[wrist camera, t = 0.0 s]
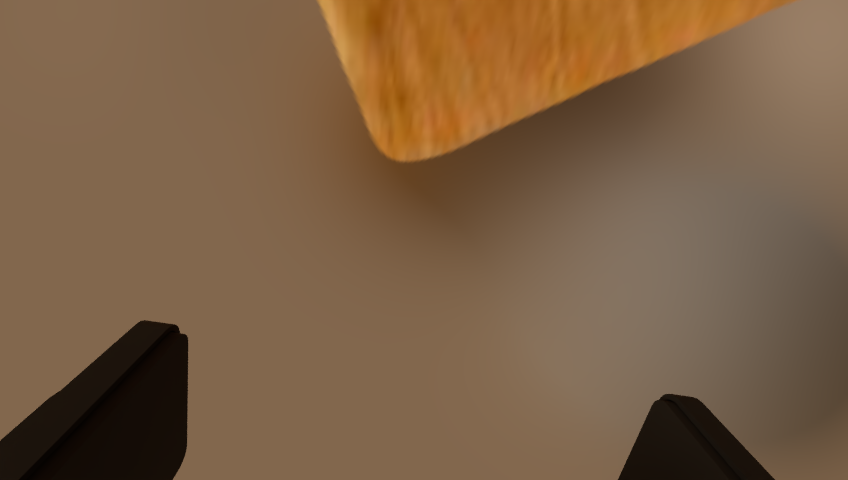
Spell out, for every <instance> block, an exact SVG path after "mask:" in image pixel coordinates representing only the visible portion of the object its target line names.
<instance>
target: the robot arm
mask: <svg viewBox="0 0 848 480" xmlns="http://www.w3.org/2000/svg"><path fill="white" fill-rule="evenodd" d="M187 395H188V337H187V335H185V334H180V331H179V328H178V326H177V325H173V324H166V323H160V322H152V321H145V320H144V321H140V322H139V323H137V324H136V325H135V326H134V327H132V328H131V329H130V330H129V331H128V332H127V333H126V334H125V335H123V336H122V337H121V338H120V339H119V340H118V341H117V342H116V343H114V344H113V345H112V346H111V347H110V348H109V349H107V350H106V351H105V352H104V353H103V354H102V355H101V356H99V357H98V358H97V359H96V360H95V361H94V362H93V363H91V364H90V365H89V366H88V367H87V368H86V369H85V370H84V371H82V372H81V373H80V374H79V375H78V376H77V377H76V378H74V379H73V380H72V381H71V382H70V383H69V384H68V385H66V386H65V387H64V388H63V389H62V390H61V391H59V392H57V393H56V394H55V395H53V396H52V397H50V398H49V399H48V400H46V401H45V402H44V403H43V404H42V405H41V406H40V407H38V408H37V409H36V410H35V411H34V412H33V413H32V414H30V415H29V416H28V417H27V418H26V419H25V420H23V421H22V422H21V423H20V424H19V425H18V426H17V427H15V428H14V429H13V430H12V431H11V432H10V433H9V434H8V435H6V436H5V437H4V438H3V439H2V440H1V441H0V480H173V478H174V476H175V475H176V473H177V471H178V469H179V468H180V466H181V464H182V462H183V459H184V456H185V453H186V447H187V398H188V397H187ZM618 480H775V479H774V478H773V477H772V476H771V475H770V474H769V473H768V472H767V471H766V470H765V469H764V468H763V467H762V466H761V464H759V462H758V461H757V460H756V459H755V458H754V457H753V456H752V455H751V454H750V453H749V452H748V451H747V450H746V449H745V447H744V446H743V445H742V444H741V443H740V442H739V441H738V440H737V439H736V438H735V437H734V436H733V435H732V434H731V433H730V432H729V431H728V430H727V428H726V427H725V426H724V425H723V424H722V423H721V422H720V421H719V420H718V419H717V418H716V417H715V416H714V415H713V414H712V413H711V411H710V410H709V409H708V408H707V407H706V406H705V405H704V404H703V403H702V402H701V401H699V400H698V399H697V398H694V397H688V396H681V395H674V394H665V395H663V396H662V397H661V398H660V399H659V400H657V401H655V402H654V403H653V405H652V407H651V409H650V411H649V413H648V415H647V418H646V420H645V422H644V424H643V427H642V428H641V431H640V433H639V435H638V437H637V439H636V442H635V444H634V446H633V448H632V450H631V452H630V455H629V457H628V459H627V461H626V464H625V465H624V468H623V470H622V472H621V474H620V476H619V479H618Z"/></svg>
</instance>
